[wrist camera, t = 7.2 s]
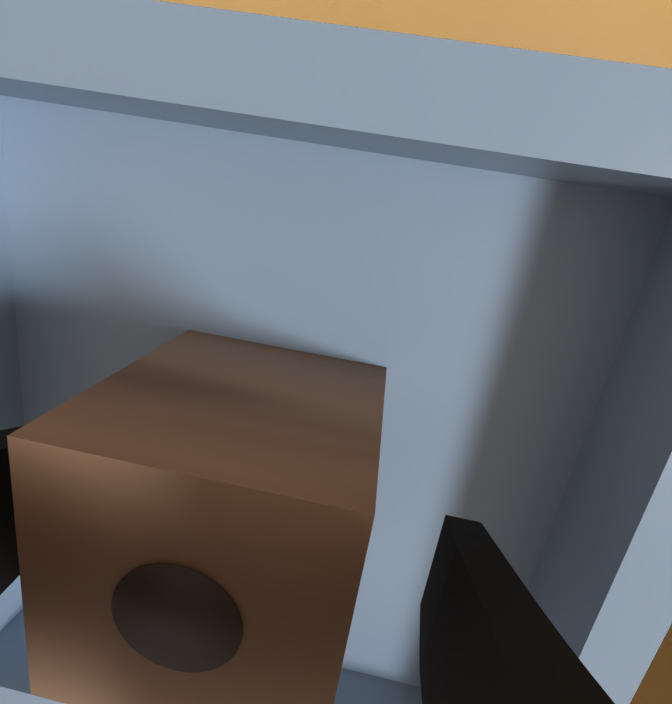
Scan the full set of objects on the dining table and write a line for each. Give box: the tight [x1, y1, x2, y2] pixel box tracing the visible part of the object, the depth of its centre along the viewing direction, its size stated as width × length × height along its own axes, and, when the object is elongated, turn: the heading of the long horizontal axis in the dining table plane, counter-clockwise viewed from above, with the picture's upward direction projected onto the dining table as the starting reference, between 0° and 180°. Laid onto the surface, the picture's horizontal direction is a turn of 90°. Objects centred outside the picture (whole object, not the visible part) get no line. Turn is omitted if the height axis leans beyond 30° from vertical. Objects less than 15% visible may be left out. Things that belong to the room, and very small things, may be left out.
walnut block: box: [7, 330, 387, 704], centre depth 8 cm, size 4×4×5 cm
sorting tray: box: [0, 0, 672, 704], centre depth 10 cm, size 16×16×3 cm
